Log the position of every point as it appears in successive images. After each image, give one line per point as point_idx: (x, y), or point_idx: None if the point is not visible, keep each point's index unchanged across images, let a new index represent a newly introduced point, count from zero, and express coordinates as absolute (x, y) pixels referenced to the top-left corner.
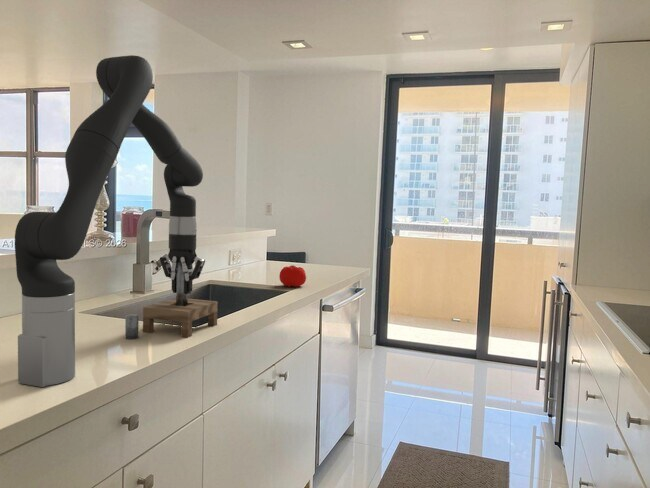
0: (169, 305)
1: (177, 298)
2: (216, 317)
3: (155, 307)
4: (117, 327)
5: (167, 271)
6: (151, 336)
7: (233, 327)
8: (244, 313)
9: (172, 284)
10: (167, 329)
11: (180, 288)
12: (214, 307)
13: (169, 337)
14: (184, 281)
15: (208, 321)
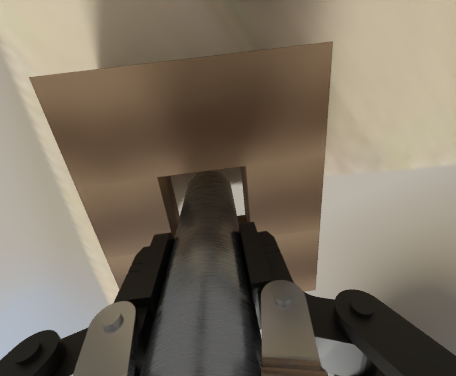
0: (234, 156)
1: (212, 201)
2: None
3: (263, 71)
4: (406, 69)
5: (384, 353)
6: (220, 22)
7: (94, 253)
8: None
9: (274, 258)
10: None
11: (190, 240)
12: None
13: (154, 48)
14: (161, 298)
15: None
